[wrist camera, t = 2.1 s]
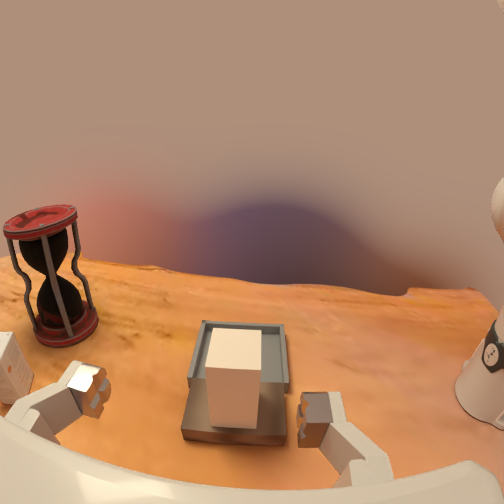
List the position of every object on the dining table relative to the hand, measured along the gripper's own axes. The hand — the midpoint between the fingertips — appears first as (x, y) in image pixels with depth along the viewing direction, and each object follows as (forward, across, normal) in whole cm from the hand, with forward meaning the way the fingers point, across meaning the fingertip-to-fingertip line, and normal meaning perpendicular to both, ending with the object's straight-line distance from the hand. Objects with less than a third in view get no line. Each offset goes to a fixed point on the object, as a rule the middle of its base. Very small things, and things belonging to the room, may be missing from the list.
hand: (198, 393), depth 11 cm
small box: (+15, +39, +30) cm, 51 cm away
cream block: (+20, 0, +26) cm, 32 cm away
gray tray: (+33, 0, +28) cm, 44 cm away
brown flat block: (+20, 0, +28) cm, 35 cm away
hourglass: (+36, +39, +29) cm, 61 cm away
